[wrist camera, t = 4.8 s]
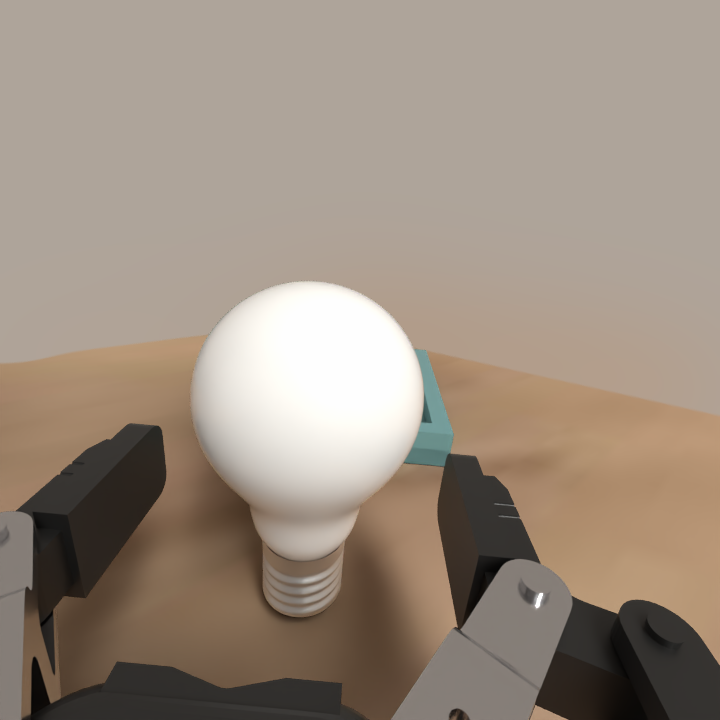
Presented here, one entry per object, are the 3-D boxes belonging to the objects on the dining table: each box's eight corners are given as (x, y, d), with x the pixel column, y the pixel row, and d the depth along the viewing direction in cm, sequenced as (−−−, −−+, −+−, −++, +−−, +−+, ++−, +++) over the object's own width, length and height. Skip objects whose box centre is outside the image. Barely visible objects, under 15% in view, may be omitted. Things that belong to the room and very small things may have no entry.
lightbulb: (168, 597, 14) (130, 271, 10) (305, 506, 19) (316, 258, 15) (295, 753, 11) (313, 340, 7) (426, 592, 15) (483, 294, 11)
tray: (207, 445, 23) (205, 412, 22) (266, 358, 35) (266, 335, 34) (447, 466, 23) (453, 434, 22) (422, 372, 35) (425, 350, 34)
